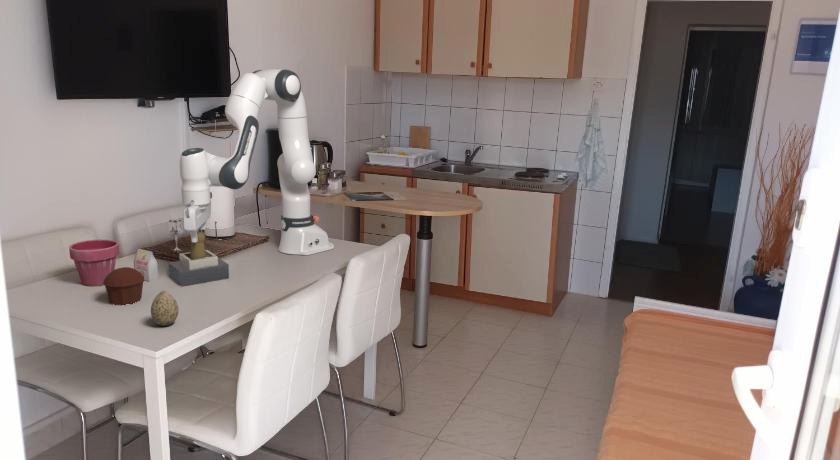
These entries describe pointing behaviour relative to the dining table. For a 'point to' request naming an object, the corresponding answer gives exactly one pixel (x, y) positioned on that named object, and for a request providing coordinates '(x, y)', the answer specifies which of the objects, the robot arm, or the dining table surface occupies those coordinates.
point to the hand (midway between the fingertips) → (198, 237)
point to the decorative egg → (164, 309)
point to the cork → (198, 247)
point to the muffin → (124, 286)
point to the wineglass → (175, 229)
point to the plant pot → (94, 260)
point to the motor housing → (198, 269)
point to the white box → (146, 265)
